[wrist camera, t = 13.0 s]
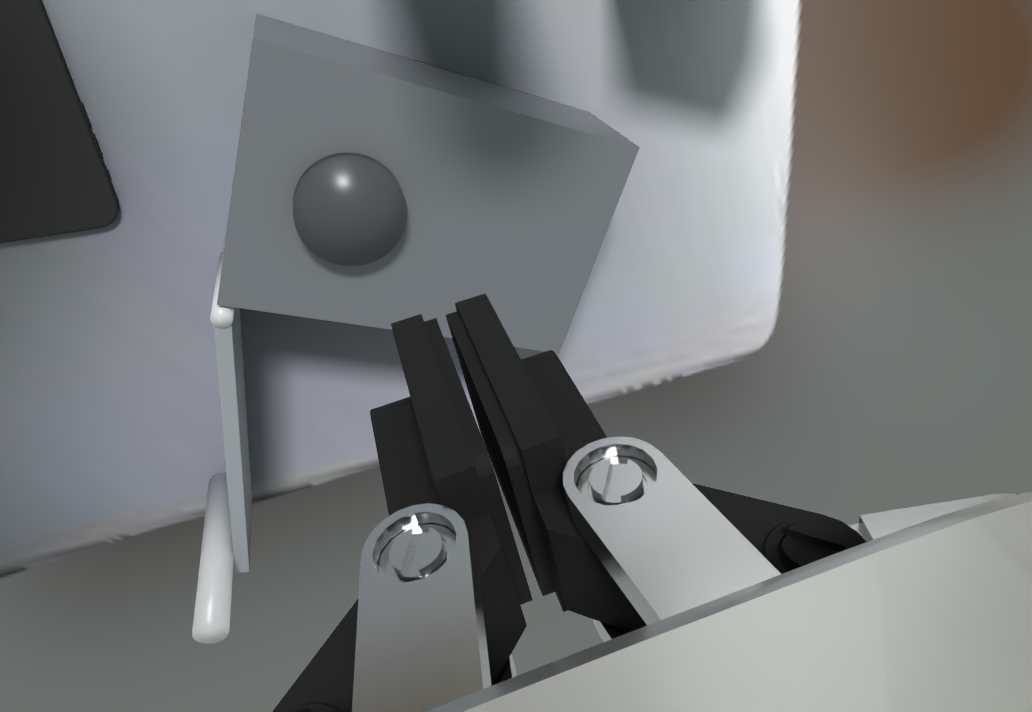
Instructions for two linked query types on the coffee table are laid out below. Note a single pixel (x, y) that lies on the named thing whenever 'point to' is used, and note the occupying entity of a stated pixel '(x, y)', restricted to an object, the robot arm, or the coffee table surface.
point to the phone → (45, 135)
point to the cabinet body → (411, 191)
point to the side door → (225, 485)
